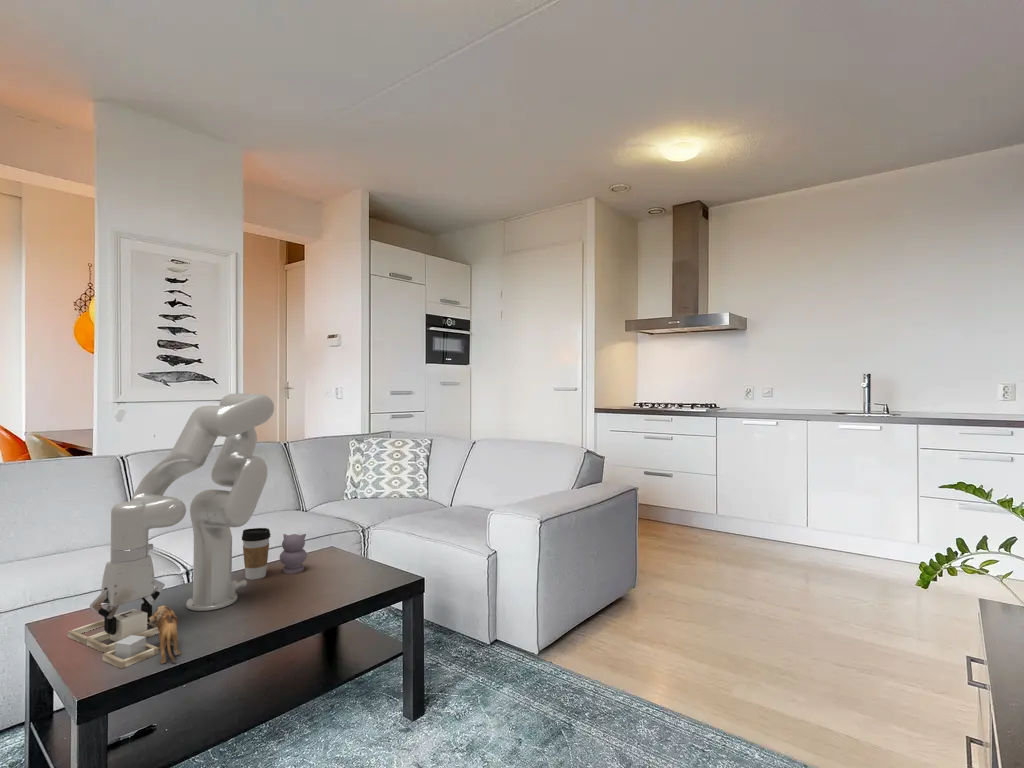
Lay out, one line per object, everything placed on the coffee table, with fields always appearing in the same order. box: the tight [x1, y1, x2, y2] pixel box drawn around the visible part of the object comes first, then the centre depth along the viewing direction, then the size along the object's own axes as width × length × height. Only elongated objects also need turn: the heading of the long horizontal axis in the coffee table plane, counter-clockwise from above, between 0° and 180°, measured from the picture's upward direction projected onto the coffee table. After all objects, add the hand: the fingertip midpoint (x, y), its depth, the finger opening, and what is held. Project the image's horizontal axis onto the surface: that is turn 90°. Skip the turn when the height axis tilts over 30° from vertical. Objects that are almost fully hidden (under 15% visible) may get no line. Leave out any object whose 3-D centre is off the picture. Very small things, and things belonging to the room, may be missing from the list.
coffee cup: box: [241, 527, 272, 580], centre depth 176 cm, size 8×8×15 cm
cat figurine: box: [279, 533, 308, 575], centre depth 182 cm, size 8×8×12 cm
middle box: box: [85, 622, 159, 654], centre depth 133 cm, size 14×8×1 cm, turn 152°
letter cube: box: [109, 608, 148, 643], centre depth 133 cm, size 6×6×6 cm
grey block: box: [114, 635, 147, 660], centre depth 123 cm, size 4×4×4 cm
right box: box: [67, 619, 106, 646], centre depth 137 cm, size 14×8×1 cm, turn 152°
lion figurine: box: [149, 605, 181, 664], centre depth 126 cm, size 15×5×9 cm, turn 44°
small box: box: [102, 642, 159, 670], centre depth 123 cm, size 8×8×1 cm
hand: (128, 626), depth 133 cm, fingers open, 7 cm apart
